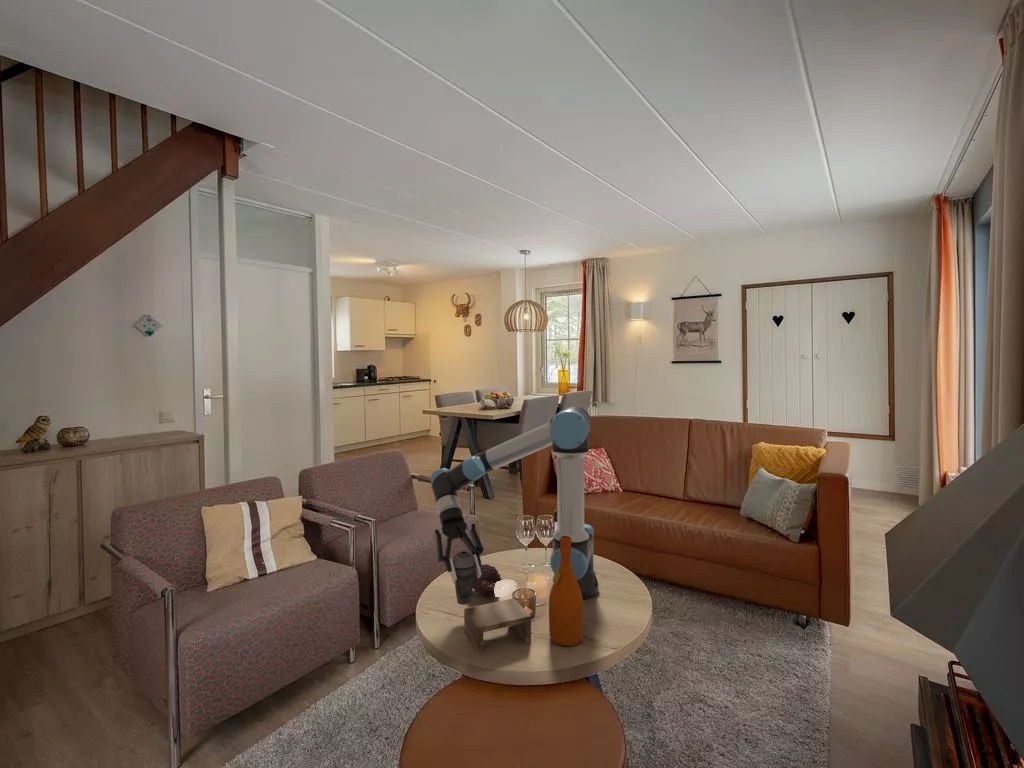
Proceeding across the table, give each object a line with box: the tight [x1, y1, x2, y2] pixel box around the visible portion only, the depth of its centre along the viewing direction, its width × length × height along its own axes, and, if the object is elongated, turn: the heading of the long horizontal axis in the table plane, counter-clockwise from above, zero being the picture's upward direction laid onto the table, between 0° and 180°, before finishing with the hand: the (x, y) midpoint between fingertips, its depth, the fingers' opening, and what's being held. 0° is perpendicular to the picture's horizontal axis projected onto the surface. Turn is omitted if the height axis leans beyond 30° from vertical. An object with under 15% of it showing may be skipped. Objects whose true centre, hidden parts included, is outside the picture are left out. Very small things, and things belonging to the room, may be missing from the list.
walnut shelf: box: [463, 598, 532, 655], centre depth 148 cm, size 16×12×8 cm
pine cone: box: [473, 563, 503, 598], centre depth 176 cm, size 18×10×10 cm, turn 37°
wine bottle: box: [548, 536, 584, 647], centre depth 147 cm, size 10×10×30 cm
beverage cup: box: [452, 538, 475, 606], centre depth 159 cm, size 7×7×20 cm
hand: (467, 578), depth 155 cm, fingers closed on beverage cup, 7 cm apart
